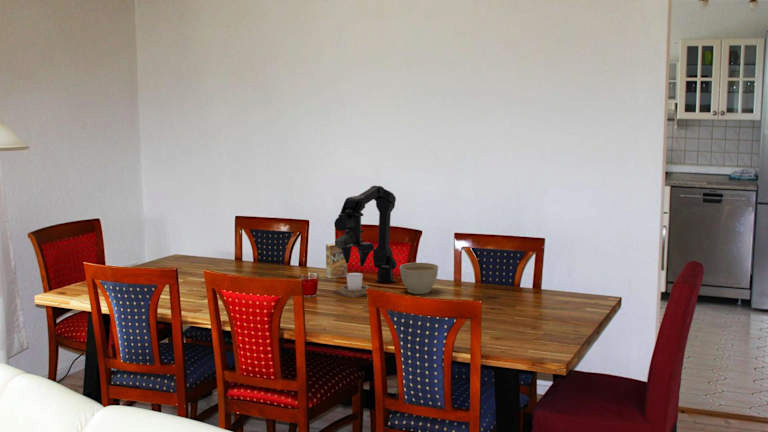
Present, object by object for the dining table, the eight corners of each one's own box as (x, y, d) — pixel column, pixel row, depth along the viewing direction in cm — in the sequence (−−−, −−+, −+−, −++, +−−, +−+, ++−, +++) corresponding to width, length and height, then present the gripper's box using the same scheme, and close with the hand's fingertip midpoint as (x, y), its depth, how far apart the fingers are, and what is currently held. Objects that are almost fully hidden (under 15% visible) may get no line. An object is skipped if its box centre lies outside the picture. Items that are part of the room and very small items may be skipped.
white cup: (363, 288, 345) (363, 272, 344) (361, 292, 338) (361, 276, 337) (347, 288, 346) (347, 272, 345) (345, 292, 339) (345, 275, 338)
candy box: (329, 279, 369) (329, 245, 366) (325, 277, 372) (325, 244, 370) (347, 276, 373) (347, 243, 371) (343, 275, 376) (343, 242, 374)
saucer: (356, 288, 350) (356, 282, 350) (374, 293, 342) (374, 287, 341) (334, 292, 342) (334, 287, 342) (353, 297, 334) (353, 292, 333)
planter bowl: (393, 289, 347) (392, 264, 346) (425, 285, 354) (426, 261, 353) (411, 298, 333) (411, 271, 331) (445, 293, 340) (445, 267, 339)
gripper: (324, 227, 340) (325, 264, 342) (354, 232, 326) (354, 271, 328) (345, 224, 347) (345, 260, 349) (374, 229, 334) (374, 267, 336)
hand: (354, 264), depth 341 cm, fingers open, 9 cm apart
